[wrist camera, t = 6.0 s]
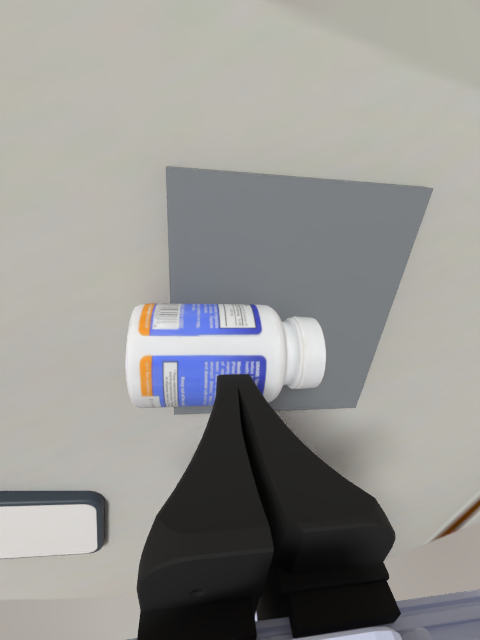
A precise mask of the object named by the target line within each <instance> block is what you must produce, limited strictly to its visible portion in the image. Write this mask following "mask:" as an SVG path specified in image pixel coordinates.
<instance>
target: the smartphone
mask: <svg viewBox="0 0 480 640" xmlns="http://www.w3.org/2000/svg"><path fill="white" fill-rule="evenodd" d="M104 538H105V500H104V497H103V496H102V495H101V494H100V493H97V492H94V491H0V559H9V558H25V557H41V556H57V555H73V554H88V553H94V552H96V551H98V550H100V549H101V548H102V546H103V543H104Z"/></svg>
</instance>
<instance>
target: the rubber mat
mask: <svg viewBox="0 0 480 640" xmlns="http://www.w3.org/2000/svg"><path fill="white" fill-rule="evenodd" d="M166 185H167V214H168V244H169V274H170V304H252V305H267V306H269V307H271V308H273V309H274V310H275V311H276V312H277V314H278V315H279V317H280V319H281V321H282V322H285V320H286V319H287V318H291V317H293V316H296V317H311V318H314V319H315V320H317V322H318V323H319V325H320V327H321V329H322V332H323V335H324V340H325V347H326V364H325V372H324V376H323V379H322V381H321V383H320V384H319V385H318V386H317V387H315V388H305V389H291V388H289V387H288V386H287V385H283V387H282V389H281V391H280V393H279V395H278V396H277V397H276V398H275V399H274V400H273V401H271V402H268V403H269V405H270V406H271V407H272V409H273V410H274V411H280V410H306V409H332V408H356V405H357V402H358V400H359V397H360V394H361V391H362V388H363V385H364V383H365V380H366V377H367V374H368V371H369V368H370V366H371V363H372V360H373V357H374V354H375V352H376V349H377V346H378V343H379V340H380V337H381V335H382V332H383V329H384V326H385V323H386V321H387V318H388V315H389V312H390V309H391V306H392V304H393V301H394V298H395V295H396V292H397V289H398V287H399V284H400V281H401V278H402V275H403V273H404V270H405V267H406V264H407V261H408V258H409V256H410V253H411V250H412V247H413V244H414V242H415V239H416V236H417V233H418V230H419V227H420V225H421V222H422V219H423V216H424V213H425V210H426V208H427V205H428V202H429V199H430V196H431V194H432V191H433V188H428V187H421V186H408V185H395V184H383V183H370V182H358V181H345V180H333V179H320V178H308V177H295V176H283V175H270V174H258V173H245V172H232V171H220V170H207V169H195V168H182V167H170V166H167V167H166ZM212 408H213V405H208V406H184V407H174V415H176V414H202V413H211V412H212Z"/></svg>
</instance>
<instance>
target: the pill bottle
mask: <svg viewBox="0 0 480 640" xmlns="http://www.w3.org/2000/svg"><path fill="white" fill-rule="evenodd" d="M325 364H326V347H325V340H324V335H323V332H322V329H321V327H320V325H319V323H318V322H317V320H315V319H314V318H311V317H296V316H293V317H291V318H287V319H286V320H285V322H282V321H281V319H280V317H279V315H278V314H277V312H276V311H275V310H274V309H273V308H271V307H269V306H267V305H252V304H141V305H138V306H136V307H135V308H134V310H133V312H132V315H131V319H130V323H129V328H128V336H127V345H126V362H125V368H126V380H127V388H128V393H129V396H130V399H131V402H132V403H133V405H134V406H136V407H139V408H157V407H184V406H208V405H214V401H215V397H216V384H217V376H219V375H222V374H249V375H250V376H251V377H252V379H253V381H254V382H255V384H256V386H257V387H258V389H259V390H260V392H261V393H262V395H263V396H264V398H265V399H266V401H267V402H271V401H273V400H274V399H275V398H276V397H277V396H278V395H279V393H280V391H281V389H282V387H283V385H287V386H288V387H289V388H291V389H305V388H315V387H317V386H318V385H319V384H320V383H321V381H322V379H323V376H324V372H325Z"/></svg>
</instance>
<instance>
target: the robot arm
mask: <svg viewBox="0 0 480 640" xmlns="http://www.w3.org/2000/svg"><path fill="white" fill-rule="evenodd" d="M394 541H395V532H394V530H393V528H392V526H391V524H390V522H389V520H388V518H387V516H386V515H385V513H384V511H383V510H382V508H381V507H380V505H379V504H378V502H377V500H376V499H375V498H374V497H373V496H371V495H370V494H368V493H366V492H365V491H363V490H362V489H360V488H359V487H357V486H356V485H354V484H353V483H351V482H350V481H348V480H347V479H345V478H344V477H343V476H341V475H340V474H339V473H337V472H336V471H335V470H333V469H332V468H331V467H329V466H328V465H327V464H326V463H325V462H323V461H322V460H321V459H320V458H319V457H318V456H316V455H315V454H314V453H313V452H312V451H311V450H310V449H309V448H307V447H306V446H305V445H304V444H303V443H302V442H301V441H300V440H299V439H298V438H297V437H296V436H295V435H294V434H293V432H292V431H291V430H290V429H289V428H288V427H287V426H286V425H285V423H284V422H283V421H282V420H281V419H280V418H279V416H278V415H277V414H276V413H275V411H274V410H273V409H272V407H271V406H270V405H269V403H268V402H267V401H266V399H265V398H264V396H263V395H262V393H261V392H260V390H259V389H258V387H257V386H256V384H255V382H254V381H253V379H252V377H251V376H250V375H249V374H222V375H219V376H217V384H216V397H215V401H214V405H213V408H212V412H211V415H210V418H209V421H208V424H207V427H206V429H205V432H204V434H203V437H202V439H201V441H200V443H199V446H198V448H197V450H196V452H195V454H194V456H193V458H192V460H191V462H190V464H189V466H188V467H187V469H186V471H185V473H184V474H183V476H182V478H181V479H180V481H179V483H178V484H177V486H176V488H175V489H174V491H173V492H172V494H171V495H170V497H169V498H168V500H167V501H166V503H165V504H164V506H163V507H162V508H161V510H160V511H159V513H158V514H157V516H156V518H155V521H154V523H153V525H152V528H151V530H150V532H149V535H148V538H147V540H146V543H145V546H144V549H143V552H142V555H141V560H140V564H139V572H138V581H137V593H138V599H139V604H140V610H141V613H140V621H139V629H138V638H135V639H128V640H480V589H479V590H472V591H465V592H458V593H451V594H444V595H437V596H430V597H424V598H417V599H410V600H402V601H395V599H394V597H393V594H392V592H391V590H390V587H389V585H388V583H387V580H388V579H389V574H388V572H387V569H386V567H385V565H384V563H383V561H384V560H385V558H386V556H387V555H388V553H389V551H390V550H391V548H392V546H393V544H394Z"/></svg>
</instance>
